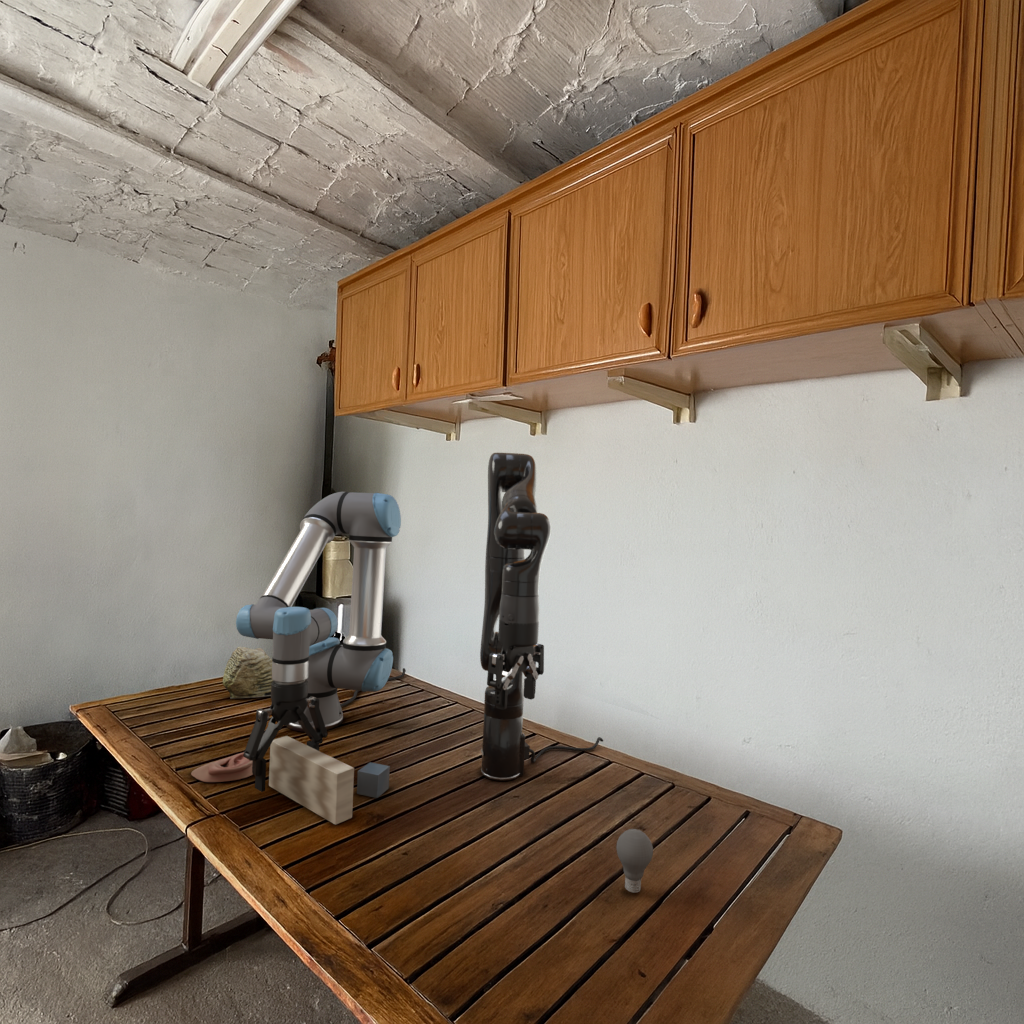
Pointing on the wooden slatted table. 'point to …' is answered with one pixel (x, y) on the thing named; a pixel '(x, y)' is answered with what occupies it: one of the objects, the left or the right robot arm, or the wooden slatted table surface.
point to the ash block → (312, 779)
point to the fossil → (248, 673)
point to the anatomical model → (224, 769)
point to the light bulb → (634, 857)
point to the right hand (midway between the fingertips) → (515, 703)
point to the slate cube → (373, 780)
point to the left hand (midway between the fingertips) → (286, 780)
